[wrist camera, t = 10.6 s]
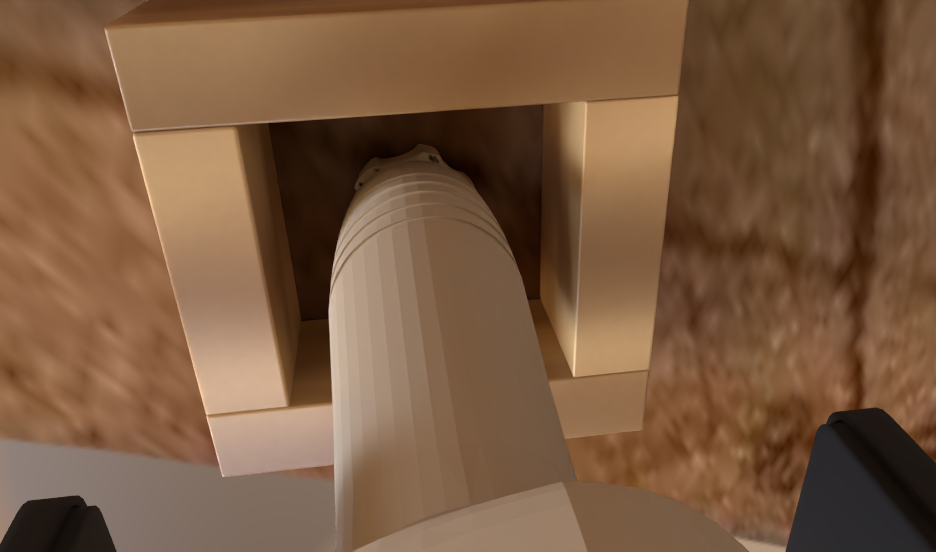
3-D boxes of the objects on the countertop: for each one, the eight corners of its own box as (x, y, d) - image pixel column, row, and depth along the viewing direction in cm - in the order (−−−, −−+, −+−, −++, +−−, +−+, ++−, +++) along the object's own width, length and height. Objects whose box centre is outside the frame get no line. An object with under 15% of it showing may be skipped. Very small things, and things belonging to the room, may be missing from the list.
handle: (556, 165, 20) (925, 722, 7) (401, 323, 22) (462, 1003, 9) (422, 45, 18) (582, 501, 5) (264, 229, 20) (73, 925, 7)
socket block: (155, -7, 17) (101, 26, 13) (626, -31, 18) (691, -7, 14) (244, 382, 22) (221, 478, 18) (600, 346, 23) (643, 430, 20)
